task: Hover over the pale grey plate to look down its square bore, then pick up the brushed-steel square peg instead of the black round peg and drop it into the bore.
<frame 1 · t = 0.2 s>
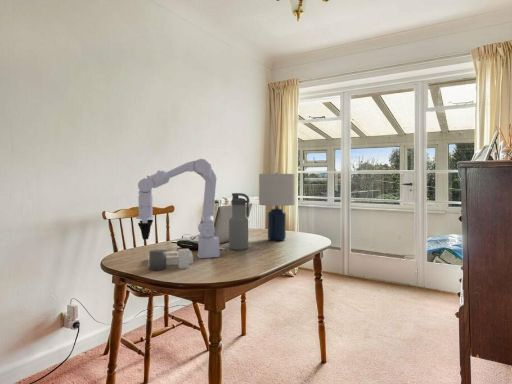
hand: (146, 237, 147), 10 cm above the table, tool pointing down, fingers open, 7 cm apart
bore plate: (170, 261, 145), on the table
round peg: (157, 268, 133), on the table
water bottle: (239, 248, 172), on the table
lamp: (276, 240, 196), on the table
square peg: (183, 267, 136), on the table
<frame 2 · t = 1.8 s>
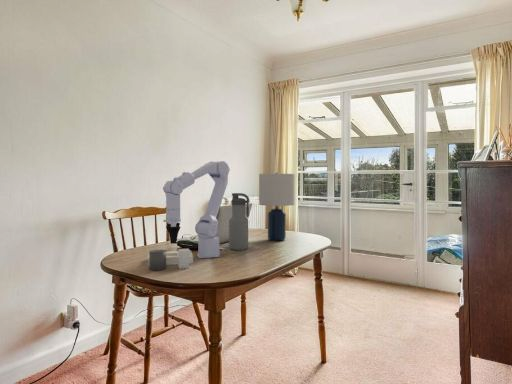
hand: (173, 241, 143), 9 cm above the table, tool pointing down, fingers open, 7 cm apart
nothing on the table moved.
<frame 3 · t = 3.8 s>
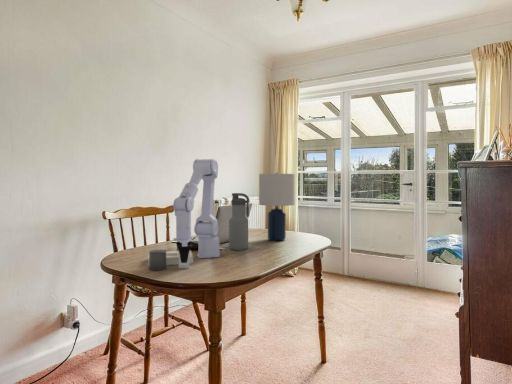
hand: (183, 261, 136), 2 cm above the table, tool pointing down, fingers closed on square peg, 4 cm apart
square peg: (183, 267, 136), on the table, touching gripper
everything else where it was.
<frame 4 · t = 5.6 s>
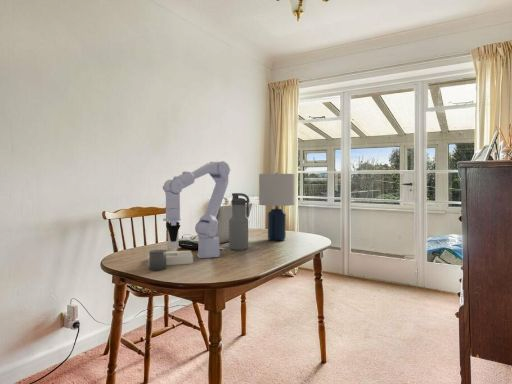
hand: (173, 240, 143), 9 cm above the table, tool pointing down, fingers closed on square peg, 4 cm apart
square peg: (173, 247, 143), point 6 cm above the table, touching gripper
everything else where it was.
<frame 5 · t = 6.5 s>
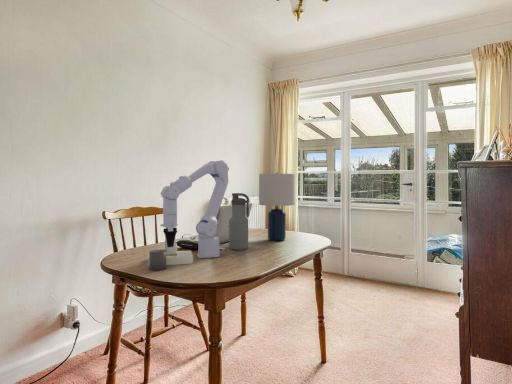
hand: (170, 245, 145), 7 cm above the table, tool pointing down, fingers closed on square peg, 4 cm apart
square peg: (170, 252, 145), point 4 cm above the table, touching gripper
everything else where it was.
when the fingers open (4 cm above the table, at t = 7.5 s): square peg drops 1 cm, resting in bore plate.
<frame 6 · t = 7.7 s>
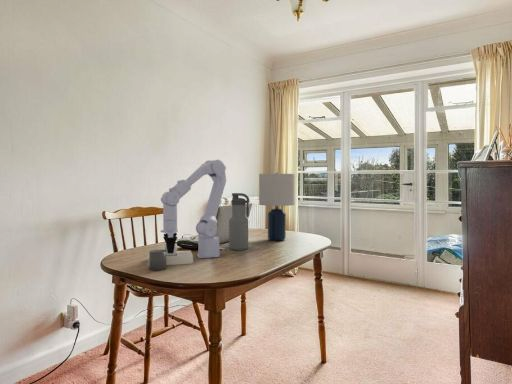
hand: (170, 251, 145), 4 cm above the table, tool pointing down, fingers open, 6 cm apart
square peg: (170, 261, 145), resting in bore plate
everything else where it was.
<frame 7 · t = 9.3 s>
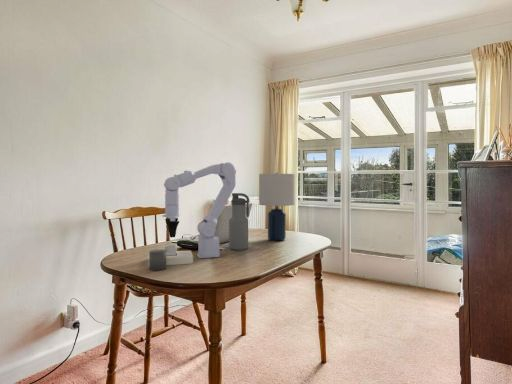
hand: (172, 235, 149), 10 cm above the table, tool pointing down, fingers open, 7 cm apart
nothing on the table moved.
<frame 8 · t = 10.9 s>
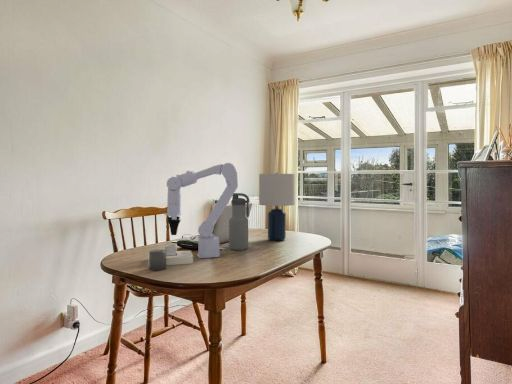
hand: (173, 233, 154), 10 cm above the table, tool pointing down, fingers open, 7 cm apart
nothing on the table moved.
at the end: square peg 0.1 cm off-centre on the bore plate, point 0.0 cm above the bore plate's base; square peg tilted 0°; the gripper is holding nothing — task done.
